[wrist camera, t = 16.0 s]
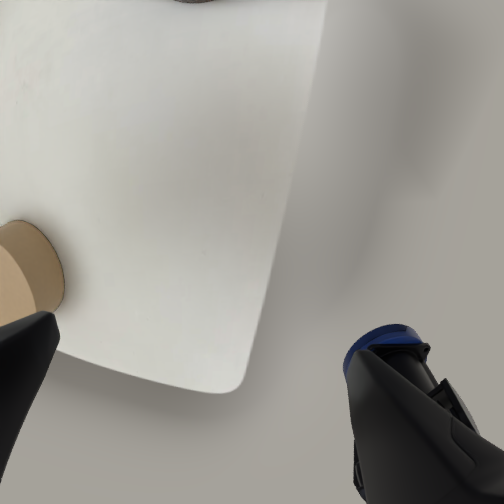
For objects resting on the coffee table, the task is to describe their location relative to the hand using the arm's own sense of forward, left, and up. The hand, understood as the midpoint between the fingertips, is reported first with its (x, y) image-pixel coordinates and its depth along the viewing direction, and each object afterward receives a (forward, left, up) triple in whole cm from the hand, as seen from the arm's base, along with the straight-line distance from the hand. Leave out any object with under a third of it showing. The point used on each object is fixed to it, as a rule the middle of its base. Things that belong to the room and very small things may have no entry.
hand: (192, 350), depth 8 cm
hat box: (+18, +6, -13) cm, 23 cm away
